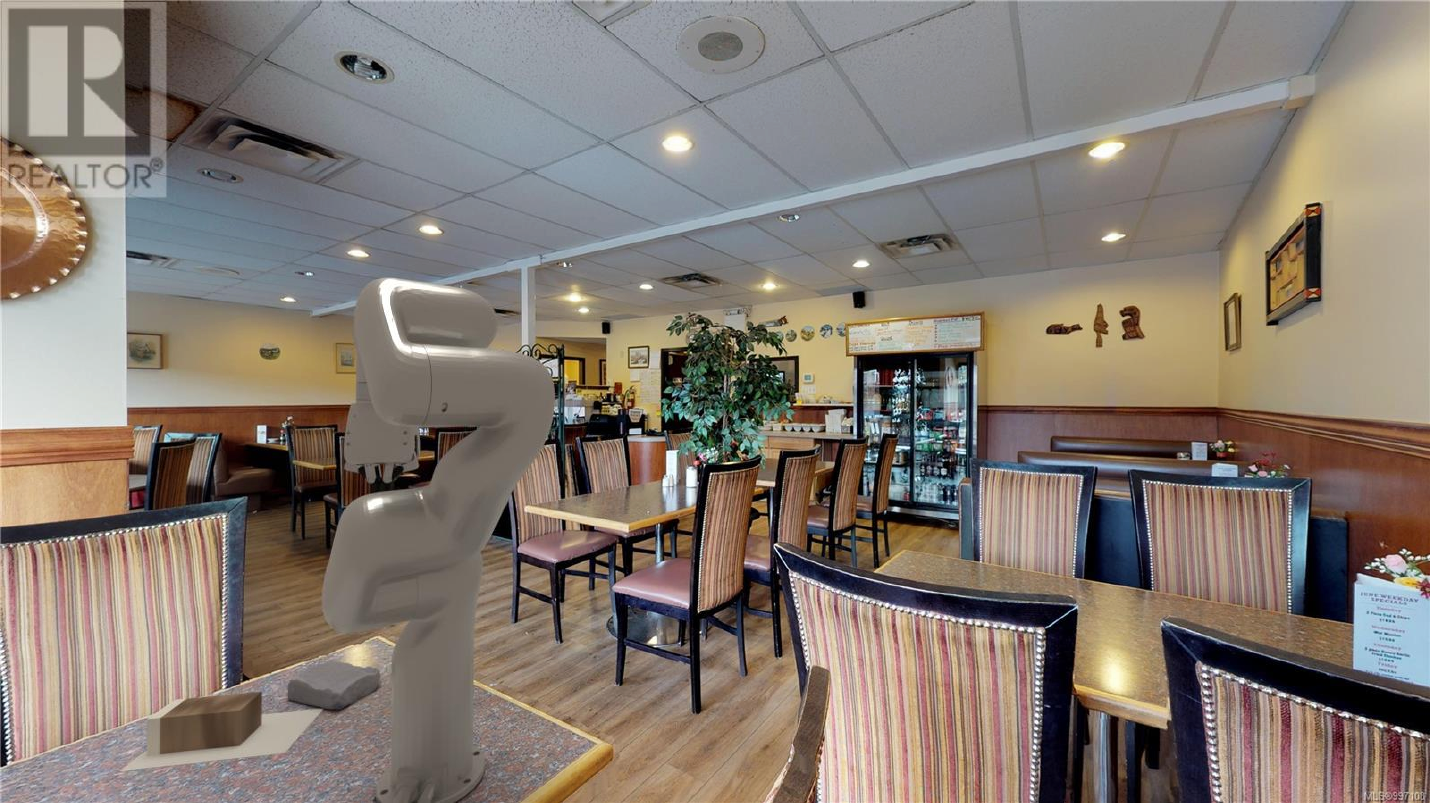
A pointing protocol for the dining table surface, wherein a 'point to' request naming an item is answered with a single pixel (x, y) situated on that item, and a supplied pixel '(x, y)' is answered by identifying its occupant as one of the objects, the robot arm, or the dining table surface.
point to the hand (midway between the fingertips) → (382, 505)
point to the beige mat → (266, 740)
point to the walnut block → (204, 723)
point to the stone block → (332, 684)
